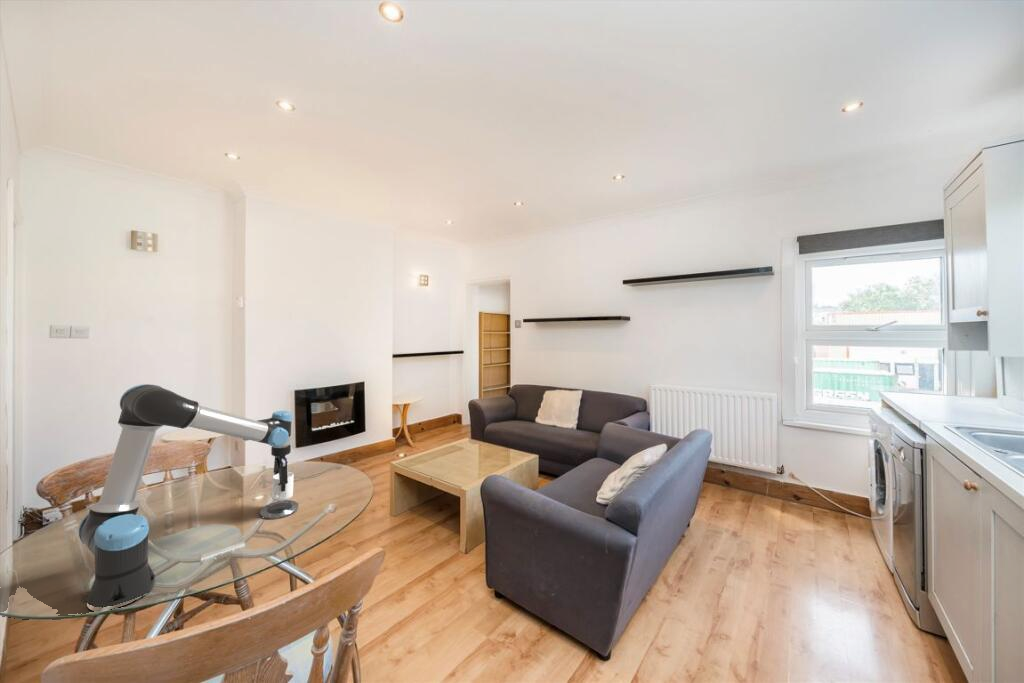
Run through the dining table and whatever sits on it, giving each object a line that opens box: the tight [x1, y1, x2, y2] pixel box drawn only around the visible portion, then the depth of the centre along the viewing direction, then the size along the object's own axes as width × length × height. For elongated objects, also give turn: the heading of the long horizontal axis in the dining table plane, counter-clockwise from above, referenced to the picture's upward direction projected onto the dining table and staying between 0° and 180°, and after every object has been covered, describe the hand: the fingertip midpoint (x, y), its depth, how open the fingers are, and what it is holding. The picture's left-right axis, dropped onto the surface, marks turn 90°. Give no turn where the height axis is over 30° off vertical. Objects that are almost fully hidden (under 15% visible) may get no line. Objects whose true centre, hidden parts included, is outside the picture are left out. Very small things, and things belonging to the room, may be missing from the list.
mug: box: [270, 471, 295, 502], centre depth 172 cm, size 12×8×10 cm
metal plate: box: [259, 499, 299, 520], centre depth 173 cm, size 15×15×1 cm
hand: (280, 493), depth 173 cm, fingers closed on mug, 9 cm apart
